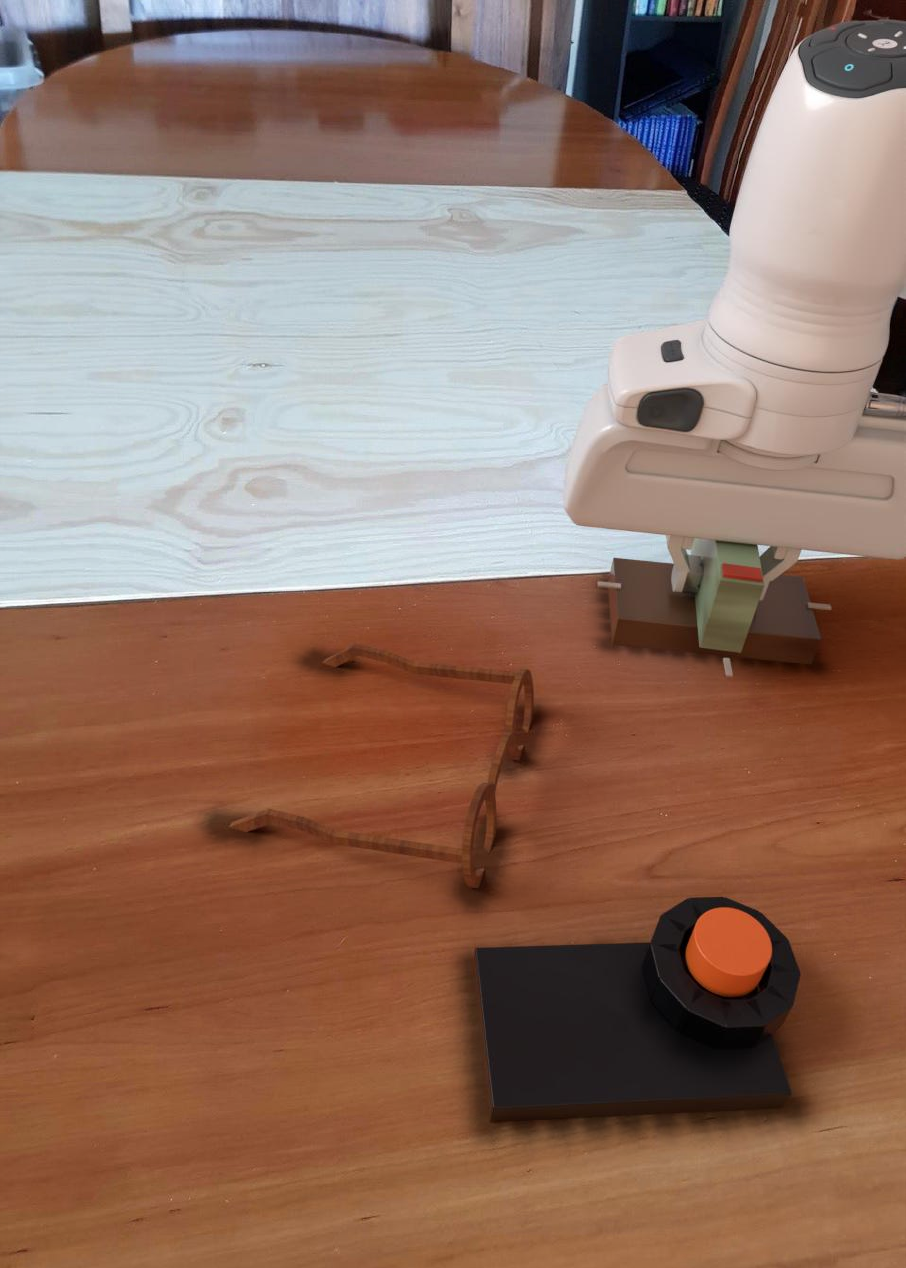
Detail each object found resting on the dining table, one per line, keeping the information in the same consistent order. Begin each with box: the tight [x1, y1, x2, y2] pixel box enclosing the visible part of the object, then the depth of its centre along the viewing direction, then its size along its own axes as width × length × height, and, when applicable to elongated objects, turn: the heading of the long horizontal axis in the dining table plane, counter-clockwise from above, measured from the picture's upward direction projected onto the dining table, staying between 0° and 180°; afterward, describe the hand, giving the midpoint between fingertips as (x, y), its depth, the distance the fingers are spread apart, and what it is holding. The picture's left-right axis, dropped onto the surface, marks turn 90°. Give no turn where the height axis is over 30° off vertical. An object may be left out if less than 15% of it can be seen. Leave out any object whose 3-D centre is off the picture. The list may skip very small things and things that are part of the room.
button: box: [685, 907, 772, 997], centre depth 44 cm, size 3×3×2 cm
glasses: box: [228, 643, 535, 889], centre depth 54 cm, size 13×13×5 cm
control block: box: [472, 896, 802, 1123], centre depth 45 cm, size 13×8×4 cm, turn 95°
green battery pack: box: [690, 538, 764, 653], centre depth 63 cm, size 10×2×5 cm, turn 173°
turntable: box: [597, 557, 832, 678], centre depth 65 cm, size 14×14×3 cm
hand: (715, 590), depth 64 cm, fingers closed on green battery pack, 2 cm apart
